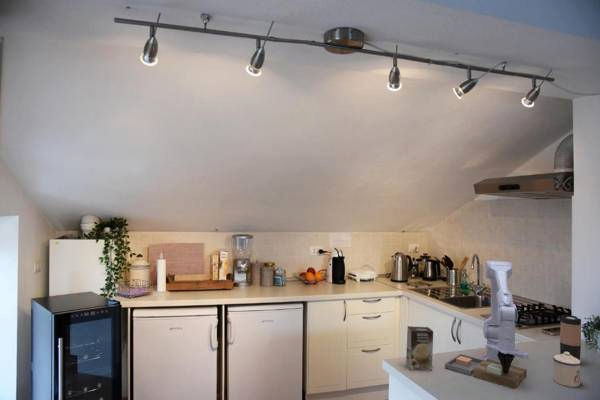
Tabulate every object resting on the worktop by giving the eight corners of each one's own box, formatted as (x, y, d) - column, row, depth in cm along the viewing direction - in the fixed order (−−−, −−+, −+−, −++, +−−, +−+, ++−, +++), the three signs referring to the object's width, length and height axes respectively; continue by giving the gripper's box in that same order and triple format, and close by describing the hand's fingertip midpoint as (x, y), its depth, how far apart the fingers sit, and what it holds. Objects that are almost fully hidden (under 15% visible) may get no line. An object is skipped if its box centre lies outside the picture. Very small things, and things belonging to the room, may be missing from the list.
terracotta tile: (472, 358, 176) (472, 363, 176) (460, 355, 179) (460, 360, 179) (467, 362, 172) (467, 366, 172) (456, 358, 175) (455, 363, 175)
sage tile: (491, 368, 164) (491, 363, 164) (504, 371, 161) (504, 366, 161) (487, 371, 161) (487, 366, 161) (500, 375, 157) (500, 370, 157)
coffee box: (410, 370, 168) (411, 330, 168) (405, 364, 174) (406, 326, 174) (432, 370, 168) (433, 331, 168) (427, 364, 174) (428, 326, 175)
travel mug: (557, 362, 180) (558, 316, 181) (561, 358, 186) (562, 313, 186) (578, 367, 175) (579, 320, 176) (581, 363, 181) (582, 317, 181)
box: (460, 358, 182) (460, 353, 182) (484, 365, 175) (484, 360, 175) (444, 368, 171) (444, 363, 171) (470, 376, 164) (470, 370, 164)
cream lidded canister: (580, 389, 153) (581, 358, 154) (551, 383, 159) (552, 353, 159) (580, 379, 163) (581, 349, 163) (553, 373, 169) (554, 344, 169)
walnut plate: (487, 365, 175) (487, 358, 175) (526, 376, 164) (526, 369, 164) (473, 376, 163) (473, 369, 163) (514, 389, 153) (514, 380, 153)
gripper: (483, 335, 161) (482, 370, 160) (524, 344, 151) (523, 381, 151) (489, 331, 166) (488, 365, 166) (529, 340, 156) (529, 376, 156)
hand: (505, 372), depth 159 cm, fingers closed
